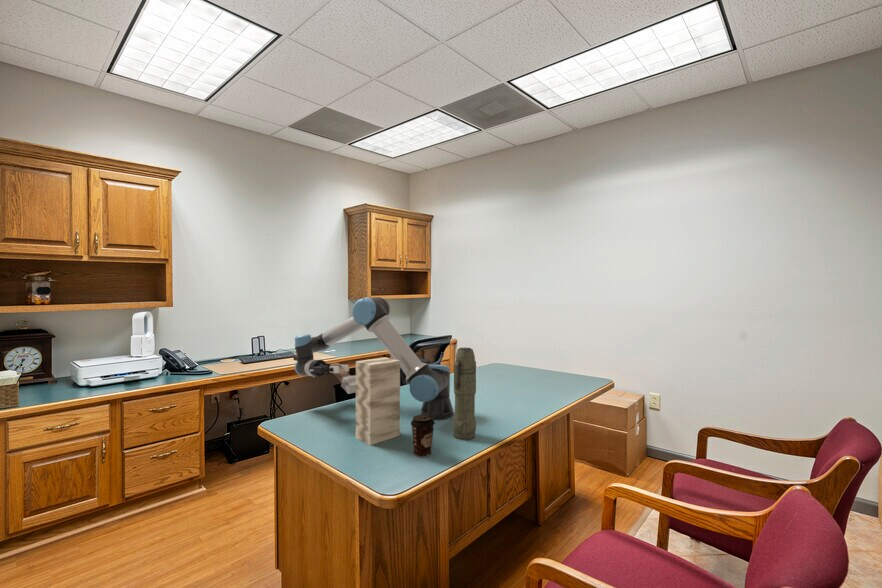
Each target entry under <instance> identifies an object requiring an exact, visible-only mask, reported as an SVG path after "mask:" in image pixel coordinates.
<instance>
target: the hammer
mask: <svg viewBox="0 0 882 588" xmlns="http://www.w3.org/2000/svg"><path fill="white" fill-rule="evenodd" d="M329 364H330V366H339V373H332V374H333V375H334V376H335V377H336V378H337V380H339V382H340V383H341V384H340V387H341V388H342V390H344V392H346V394H348V395H350V394H356V374H355V375H354V374H353V375H351V374H350V373H349V371H346V370H345V369H344V368H343V367H342V366H341V365H340V363H339V362H336V363H329Z"/></svg>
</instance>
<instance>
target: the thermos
mask: <svg viewBox="0 0 882 588" xmlns="http://www.w3.org/2000/svg"><path fill="white" fill-rule="evenodd" d="M453 393H454V417H453V421H452V422H453V424H452V425H453V427H452V428H453V429H452V430H453V437H454V438H455V439H456V440H460V441H470V440H473V439H475V438H476V430H477V428H476V427H477V420H476V417H475V411H476V410H475V409H476V407H475V405H476V404H475V402H476V401H475V399H476V393H477V362H476V357H475V352H474V349H473V348H471V347H459V348H457V350H456V353H455V362H454V364H453Z"/></svg>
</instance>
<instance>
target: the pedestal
mask: <svg viewBox="0 0 882 588" xmlns="http://www.w3.org/2000/svg"><path fill="white" fill-rule="evenodd" d="M355 375H356V393H355V434H354V435H355V439H357V440H359V441H361V442H364V443H366V444H367V445H369V446H372V445H375V444H378V443H380V442H382V443H383V442H384V441H387V440H390V439H393V438H396V437H400V431H401V429H400V428H401V425H400V424H401V419H400V416H401V414H400V413H401V405H400V404H401V368H400V360H395V359H394V358H391V357H386V356H385V357H378V358H372V359H365V360H364V359H362V360H356V361H355Z"/></svg>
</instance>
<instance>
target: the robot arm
mask: <svg viewBox="0 0 882 588" xmlns="http://www.w3.org/2000/svg"><path fill="white" fill-rule="evenodd" d="M390 312H391V306H390V304H389V302H388V301H387V300H386V299H385V298H383V297H379V296H378V297H377V296H375V297H368V296H367V297H363V298H360V299H358V300H357V301H356V302H355V303H354V304H353V306H352V312H351V313H352V316H351V317H349V318H347V319H345V320H344V321H341V322H340V323H339V324H337V325H334V326H333V327H331V328H329V329H327V330H326V331H324V332H323V333H320V334H318V335H316V336H312V335H311V334H307V333H306V334H302V335H296V336H295V337H294V348H295V354H296V363H294V364H295V365H294V371H295V373H296V374H297V375H299V376H303V377H307V376H308V377H312V378H315V377H317V378H318V377H323V376H325V374H326V375H330V373H332V374H333V373H339V366H330V364H331V363H328V362H326V361H325V360H324V359H315V358H314V353H317V352H323V351H326V350H327V349H329V348H331V346H332V345H334V344H336V343H338V342H340V341H342V340H344V339H346V338H347V337H349V336H351V335H353V334H355V333H358V332H359V331H360V330H362V329H364V328H365V329H366V330H367V332H369V333H374V335H375V336H376V337H377V339H378V340H379V342H380V343H381V344H382V346H383V347H384V348H385V349H386V350H387V352H388V353H389V354H390V356H391V357H392V359H395V360H400V370H402V372H403V374H404V375H405V376H406V377H405V382H406V383H407V384H408V386H409V392H410V394H411V396H412V397H413V399H415V400H416V401H418V402H421V403H422V404H421V406H420V407H421V408H420V415H431V416H432V417H433V418H432V420H445V419H449V418H451V417H453V415H454V408H453V404H452V401H451V399H450V398H451V397H450V393H451V391H450V388H451V387H450V386H451V384H450V383H451V379H450V376H451V370H450V367H449V365H446V364H445V365H444V364H428V363H426V362H422V361H421V359H419V357H418V356H417V355H416V353H415V352H414V351H413V350H412V348H411V347H410V345H408V343H407V342H406V340H405V339H404V338H403V337H402V336H401V334H400V333H399V331H398V330H397V329H396V328H395V326H394V325H393V324H392V322H391V321H390ZM339 364H340V365H341V366H342V367H343V368H344V369H345V370H346V371H347V372H350V364H346V363H343V362H340V363H339Z"/></svg>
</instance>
